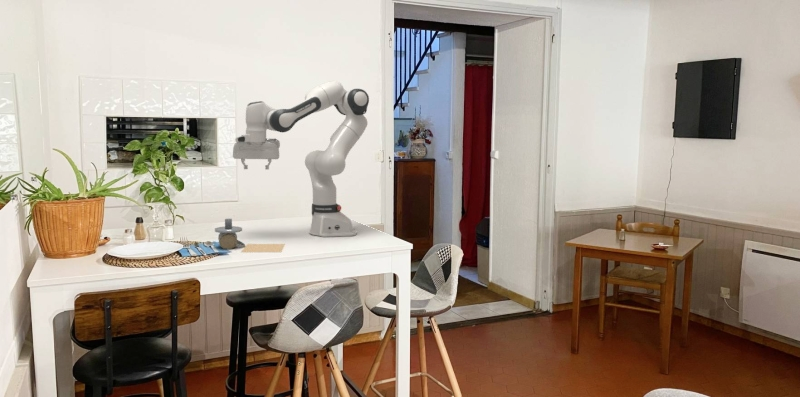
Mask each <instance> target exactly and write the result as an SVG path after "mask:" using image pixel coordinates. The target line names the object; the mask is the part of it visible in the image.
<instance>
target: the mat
mask: <svg viewBox="0 0 800 397" xmlns="http://www.w3.org/2000/svg"><path fill="white" fill-rule="evenodd" d="M285 245H286V244H285V243H246V244H245V247H243V248H242V250H241V251H240V253H282V251H283V250H284V247H285Z"/></svg>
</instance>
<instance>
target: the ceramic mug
mask: <svg viewBox="0 0 800 397" xmlns="http://www.w3.org/2000/svg"><path fill="white" fill-rule="evenodd" d="M218 245H219V246H220V247H221V249H223V250H233V249H234V248H235V247H236V248H238V249H244V247H245V246H246V244H245V243H244V242H243V241H240V240H238V235H237V232H236V233H218Z"/></svg>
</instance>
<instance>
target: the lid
mask: <svg viewBox="0 0 800 397" xmlns="http://www.w3.org/2000/svg"><path fill="white" fill-rule="evenodd" d="M242 231H243V227H241V226H236V225H235V226H233V219H232V218H225V219H224V226H218V227H215V228H214V232H215V233H218V234H220V233H236V234H237V233H240V232H242Z"/></svg>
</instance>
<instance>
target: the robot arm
mask: <svg viewBox="0 0 800 397" xmlns="http://www.w3.org/2000/svg"><path fill="white" fill-rule="evenodd" d="M369 103H370V96H369V94H368V93H367V91H366V90H364V89H362V88H352V89H350V90H346V89H345V88H344V86H343V84H342V83H341V82H339V81H338V80H332V81H328V82H324V83H322V84H319V85H317V86H315V87H313V88H312V89H310V90H308V91H307V92H306V93H305V95H304V100H303V101H302V102H300V103H299V104H297V105H295V106H293V107H291V108H281V109H276V108H273V107H272V106H270V105H268V104H266V103H265V102H264V101H261V100H260V101H253V102H249V103H248V104H247V105H246V109H245V124H246V129H245V134H241V135H239V136H237V137H235V142H236V143H235V144H234V145H233V148H232V157H233V158H234V160H235V159H236V160H240V161H241V164H242V165H243V170H248V169H249V167H248V165H249V164H246V163H245V162H246V160H267V162H268V163H267V164H266V165H264V166H265V170H270V165H271V163H272V160H278V159H279V158H280V149H279V148H280V147H281V142H280V140H279V139H277V138H270V137H269V138H267V130H269V131H273V132H278V133H287V132H289V131H291V129H293V127H294V126H295V124H297V123H298V122H299V121H301V120H303V119H305V118H306V117H308V116H310V115H312V114H314V113H315V114H316V113H318V112H321V111H324V110H326V109H328V108H331V107H332V106H334V107H335V109H336V110H337V112H338V113H339V114H340V115H342V116H345V118H344V119H343V120H344V121H342V122H341V124H340V125H339V126H338V128H336V130H335V131H334V132H333V133H332V134H331V136H330V138H329V141H330V142H329V145H328V147H327V148H326V149H325V150H319V149H318V150H313V151H310V152H309V153H307V155H306V156H305V159H304V165H305V167H306V169H307V170H308V173H309V176H310V181H311V185H312V186H311V187H312V204H311V215H312V217H311V224H310V228H309V232H308V233H309V234H310V235H313V236H318V237H322V238H326V237H327V238H328V237H329V238H330V237H332V238H333V237H350V236H351V237H353V236H356V235H357V234H358V231H357V229H355V228H353V223H352V220H351V218H349V217H348V216H347V215H346V214H344V213H343V212H342V206H341V205H340V204H338V203H337V187H336V185H335V183H334V180H333V176H338V175H340V174H342V173H343V172H344V171H345V169H346V159H347V157H348V155H349V153H350V152H351V150H352V148H353V147H354V146H355V145H356V143H357V142H358V141H359V140H360V138H361V137H362V135H363V133H364V132H365V130H366V128H367V127H368V119H367V118H366V117H365V114H367V110H368V105H369Z"/></svg>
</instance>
